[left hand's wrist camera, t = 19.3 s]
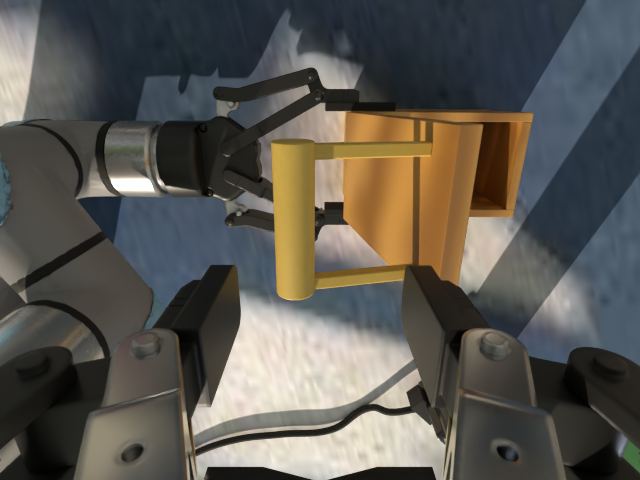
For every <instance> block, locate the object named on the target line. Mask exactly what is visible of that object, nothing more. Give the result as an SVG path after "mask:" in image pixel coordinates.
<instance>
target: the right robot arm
mask: <svg viewBox="0 0 640 480" xmlns="http://www.w3.org/2000/svg"><path fill="white" fill-rule="evenodd" d="M304 85H308V87H309V89H310V92H311V93H309V94H307V95H306V96H304V97H302V98H301V99H299V100H297V101H295V102H294V103H292V104H290V105H289V106H287V107H285V108H283V109H282V110H280V111H278V112H277V113H275V114H273V115H271V116H270V117H268V118H266V119H265V120H263V121H261V122H259V123H258V124H256V125H254V126H252V127H251V128H249V129H247V130H246V129H245V128H244V127H242V126H241V125H240V124H238V123H237V122H235V121H234V120H233V119H231V118H230V117H229V114H230V112H231V111H233V110H237V109H239V107H240V102H246V101H251V100H255V99H258V98H262V97H265V96H269V95H272V94H276V93H279V92H283V91H287V90H290V89H294V88H297V87H301V86H304ZM213 96H214V97H215V98H216V99H217V116H216V117H214V118H213V119H211V120H209V121H167V122H165V124H163V123H162V122H160V121H110V122H108V121H73V120H50V119H31V120H24V121H13V122H9V123H6V124H4V125H3V126H1V127H0V276H1V277H0V366H1V365H3V364H4V363H6V362H8V361H9V360H11V359H13V358H14V357H16V356H18V355H21V354H23V353H25V352H28V351H31V350H34V349H38V348H43V347H49V346H61V347H65V348H67V349H69V350H70V351H71V353H72V355H73V359H74V362H75V364H76V363H81V362H86V361H91V360H97V359H102V358H106V357H110V356H112V351H113V349H114V347H115V346H116V345H117V344H118V343H119V342H120V341H121V340H123V339H124V338H126V337H127V336H129V335H131V334H133V333H136V332H139V331H142V330H146V329H151V328H152V327H153V325H154V324H155V323H156V321H157V320H158V319H159V317H160V316H161V315H162V313H163V312H164V310H165V308H164V307H163V305H162V304H161V302H160V301H159V299H158V298H157V297H156V294H155V292H154V291H153V290H152V289H151V288H150V287H148V285H147V284H146V283H145V282H144V281H143V279H142V278H141V277H140V276H139V275H138V274H137V272H136V271H135V270H134V269H133V268H132V266H131V265H130V264H129V263H128V262H127V260H126V259H125V258H124V257H123V256H122V254H121V253H120V252H119V251H118V250H117V249H116V247H115V246H114V245H113V244H112V243H111V241H110V240H109V239H108V238H107V237H106V235H105V234H104V233H103V232H102V230H101V229H100V228H99V227H98V225H97V224H96V223H95V222H94V220H93V219H92V218H91V217H90V215H89V214H88V213H87V212H86V210H85V209H84V208H83V207H82V206H81V204H80V203H79V202H78V201H77V199H80V198H84V197H100V196H135V197H166V196H168V195H169V194H171V195H172V196H174V197H215V198H218V199H220V200H222V201H224V202H225V207H226V212H227V217H226V219H225V224H226V225H227V226H228V227H242V226H249V227H253V228H257V229H261V230H265V231H269V232H273V233H275V227H274V214H271V213H267V212H263V211H259V210H254V209H247V207H246V206H245V205H244V204H240V203H238V202H237V201H236V198H237V197H239V196H240V195H241V194H243V193H244V192H245V191H247V192H249V193H251V194H253V195H255V196H257V197H259V198H264V199H266V200H268V201H270V202H271V203H273V204H274V201H273V184H272V183H271V182H270V181H268V180H267V179H265V178H263V177H261V174H262V165H261V162H260V159H259V158H260V153H261V143H259V141H258V138H260V137H262V136H264V135H265V134H267V133H269V132H270V131H272V130H274V129H276V128H277V127H279V126H281V125H283V124H284V123H286V122H288V121H290V120H291V119H293V118H295V117H297V116H298V115H300V114H302V113H303V112H305V111H307V110H309V109H310V108H312V107H314V106H316V105H317V104H319V103H325V111H395V108H396V103H392V102H359V91H357V90H355V89H326V88H324V87H323V86H322V84H321V81H320V78H319V75H318V72H317V70H316V69H315V68H307V69H304V70H300V71H297V72H293V73H290V74H286V75H283V76H279V77H276V78H272V79H269V80H265V81H262V82H258V83H255V84H251V85H248V86H244V87H241V88H229V87H216V88H215V89H214V90H213ZM343 212H344V202H325V210H323V209H322V208H321V209H320V208H318V207H316V206H315V241H316V240H317V238H318V234H319V232H320V229H321V228H322V226H324V225H349V224H348V223H347V222H346V221H345V220H344V219H343ZM19 455H20V451H19V449H18V446H17V444H16V441H15V439H14V438H13V439H12V440H11V441H10V442H9V443H7V444H6V445H5V446H4V447H3V448H2V449H1V450H0V473H1V472H2V471H3V470H4V469H5V468H6V467H7V466H8V465H9V464H10V463H11V462H13V461H14V460H15V459H16V458H17V457H18V456H19Z"/></svg>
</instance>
